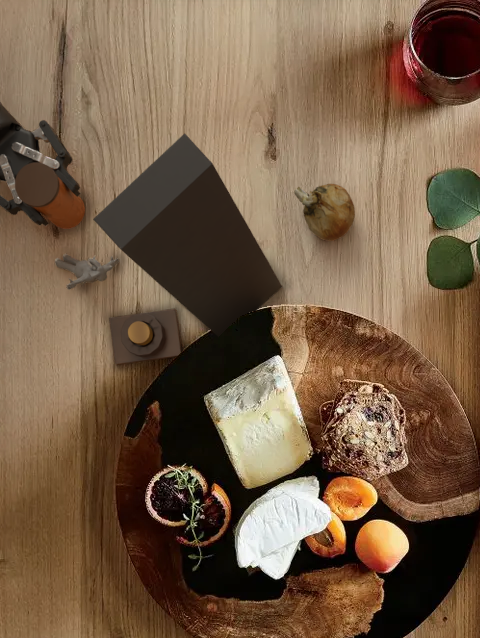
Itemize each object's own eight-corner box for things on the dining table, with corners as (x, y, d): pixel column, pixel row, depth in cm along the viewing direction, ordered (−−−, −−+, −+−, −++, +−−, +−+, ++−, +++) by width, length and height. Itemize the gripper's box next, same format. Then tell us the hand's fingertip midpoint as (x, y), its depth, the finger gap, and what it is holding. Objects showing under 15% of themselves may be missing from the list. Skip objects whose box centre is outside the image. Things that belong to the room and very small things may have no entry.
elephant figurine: (83, 229, 123) (126, 246, 120) (91, 266, 127) (134, 283, 124) (29, 255, 117) (73, 273, 113) (40, 293, 121) (83, 312, 118)
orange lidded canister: (49, 232, 123) (17, 208, 113) (44, 193, 123) (12, 165, 113) (88, 227, 123) (60, 202, 113) (83, 187, 123) (54, 159, 113)
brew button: (132, 346, 121) (129, 344, 119) (130, 325, 121) (126, 322, 119) (154, 343, 120) (151, 341, 119) (151, 322, 120) (148, 319, 119)
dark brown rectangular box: (151, 262, 123) (8, 127, 79) (210, 207, 122) (99, 40, 78) (223, 341, 122) (120, 249, 78) (282, 286, 122) (212, 163, 78)
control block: (117, 365, 123) (111, 362, 120) (110, 318, 123) (104, 315, 120) (182, 356, 123) (178, 353, 120) (176, 309, 123) (172, 305, 120)
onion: (314, 254, 122) (308, 236, 114) (297, 202, 122) (290, 181, 114) (363, 237, 122) (360, 218, 114) (346, 186, 122) (342, 164, 114)
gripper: (-71, 144, 113) (11, 234, 113) (5, 72, 113) (87, 162, 113) (-41, 166, 121) (36, 250, 121) (30, 99, 121) (107, 183, 120)
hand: (60, 207), depth 117 cm, fingers closed on orange lidded canister, 5 cm apart
